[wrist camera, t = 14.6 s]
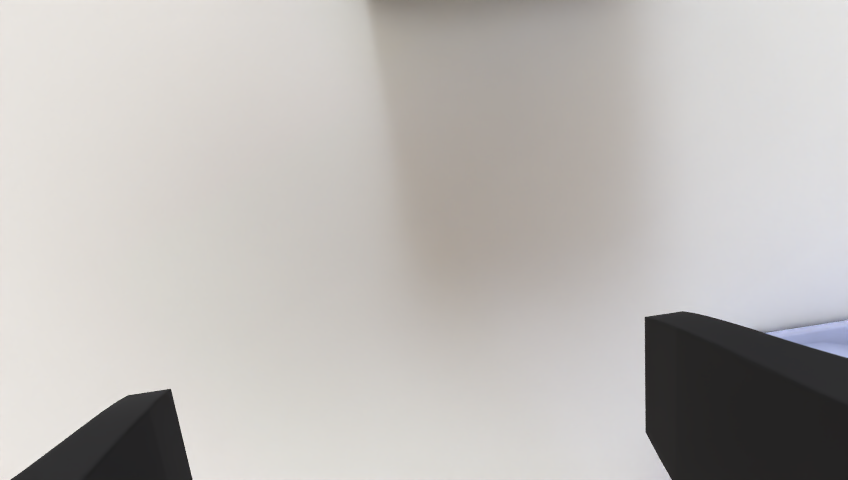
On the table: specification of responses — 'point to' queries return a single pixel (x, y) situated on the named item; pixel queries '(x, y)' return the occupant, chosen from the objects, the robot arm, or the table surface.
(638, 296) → the table surface
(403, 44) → the table surface
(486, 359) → the table surface
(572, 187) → the table surface
